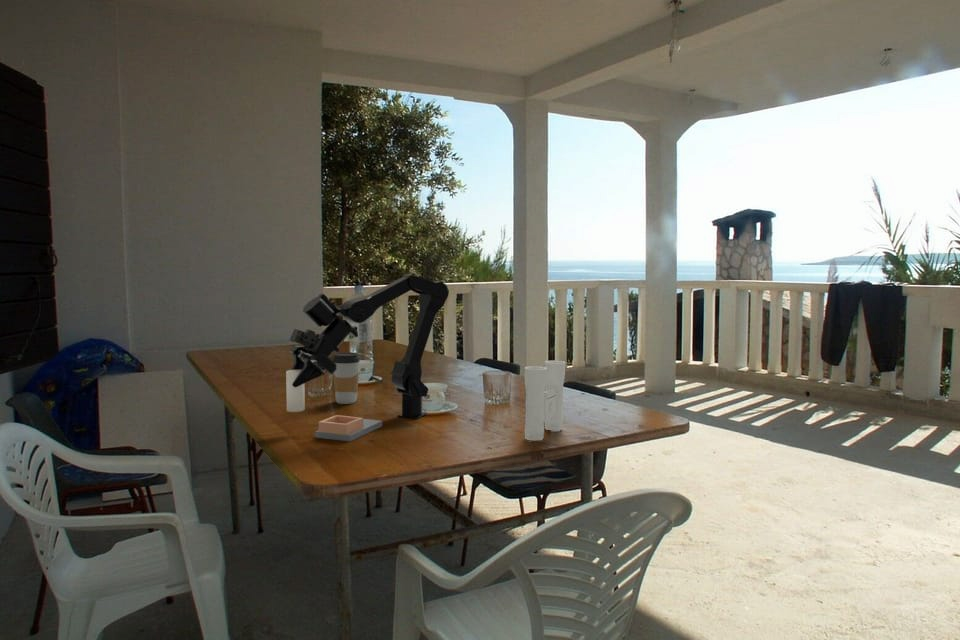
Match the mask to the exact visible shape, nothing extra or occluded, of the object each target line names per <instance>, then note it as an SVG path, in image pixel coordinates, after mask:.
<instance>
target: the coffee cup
mask: <svg viewBox="0 0 960 640" xmlns="http://www.w3.org/2000/svg"><path fill="white" fill-rule="evenodd" d="M332 361H333V362H334V363H335V364H336V368H337V370H336V371H335V372H334V373H333V383H334V384H333V385H334V393H335V395H334V396H335V401H336V403H337V404H340V405H348V404H351V405H352V404H355V403H356V401H357V399H358V390H359V389H358V387H359V373H360V372H359V369H360V368H359V367H360V357H359V354H358V352H357V353H356V352H335V353H334V354H333V356H332Z"/></svg>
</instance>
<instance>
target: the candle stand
mask: <svg viewBox="0 0 960 640" xmlns="http://www.w3.org/2000/svg"><path fill="white" fill-rule="evenodd" d="M382 427H383V420H378V419H377V420H375V419H367V418H364V417H358V416H350V415H349V416H348V415H340V414H339V415H338V414H336V415H333V416H331V417H328V418H325V419H323V420H320V421H318V429H317V430H315V431H314V435H315V436H314V438H317V439H326V440H335V441H341V442H342V441H343V442H352V441H355V440H357V439H358V438H361V437H363V436H366V435H367V434H369V433H371V432H373V431H376V430H378V429H379V428H382Z"/></svg>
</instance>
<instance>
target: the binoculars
mask: <svg viewBox="0 0 960 640" xmlns="http://www.w3.org/2000/svg"><path fill="white" fill-rule="evenodd" d="M565 377H566V362H565V361H563V360H551V359H550V360H545V361H544V366H539V365H538V366H536V365H533V366H531V365H529V366H525V367H524V388H525V402H524V404H525V412H524V414H525V421H524V422H525V423H524V424H525V425H524V439H527V440H542V439H543V438H544V435H545V429H546V431H547V430H551V431H550V432H561V431H563V425H564V418H563V415H564V414H563V409H564V406H563V403H564V383H565ZM560 430H561V431H560ZM527 440H526V441H527Z"/></svg>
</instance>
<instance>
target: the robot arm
mask: <svg viewBox="0 0 960 640" xmlns="http://www.w3.org/2000/svg"><path fill="white" fill-rule="evenodd" d="M410 291H412V292H413V293H415V294H417V295H418V304H419V305H418V306H419V310H418V314H417V317H416V320H415V324H414V327H413V329H412V333H411V335H410V339H409V342H408V345H407V348H406V351H405V354H404V357H403V358H402V359H401V360H400V361H398V360H395V361H394V364H393V369H392V370H391V373H390V375H391V383H392V385H393V386H394V387H395V388H396V390H397V393H398V394H401V412H400V413H398V414H397V415H396V416H397V417H398V418H406V419H416V420H417V419H420V418H421V417H424V416H426V415H427V413H428V412H425V411H423V397H427V395H428V392H429V388H428V387H427V386H426V384H424V382H422V375H423V371H422V359H423V356H424V353H425V351H426V346H427V344H428V339H429V336H430V333H431V331H432V327H433V325H434V321H435V318H436V316H437V313H439V312H440V310H441V309H442V308H443V306H444V305H445V304H446V301H447V299H448V298H449V295H450V290H449V288H448V285H447V284H446V283H444V282H442V281H433V280H429V279H426V278H424V277H423V278H422V277H420V276H418V275H417V274H408V273H407V274H403V276H402V277H400V278H398V279H396V280H394V281H391V282H390V283H388V284H386V285H385V286H383V287H381V288H379V289H377V290H375V291H373V292H371V293H369V294H367V295H362V296H358V297H353V298H352V299H348V300H346V301H344V302H343V303H342V304H341V305H334V304H333V303H332V302H331V301H330V300H329V298H328V297H327V295H325V294H324V293H319V295H317V296H315V297H314V298H312V299H311V300H310V301H308V302H306V304H305V305H304V306H303V309H302V312H303V313H304V314H305V315H306V316H307V317H308V318H309V319H310V321H312V322H313V323H314V324H315V325H316V326H317V327H318V328H319V327H325V328H324V329H323V330H322V331H321V332H320V333H319V332H317V333H316V332H315V331H313V330H312V329H306V330H305V331H303V330H301V329H296V328H294V329H293V331H292V333H291V335H290V338H289V341H290V342H292V343H297V344H299V345H293V346H292V347H291V348H290V349H289V351H288V352H289V353H290V354H291V355H292V357H293V364H292V367H291V369H290V370H301V372H300V373H299V375H298V376H297V378H296V379H295V381H294V382H293V384H292V385H293V386H294V387H298V386H300V385H302V384H304V385H305V384H306V383H308V382H310V381H312V380H315V379H317V378H319V377H322V376H325V373H326V374H327V375H330V376H332V375H334V372H335V371H336V370H337V368H336V364H335V363H334V362H333V359H331V358H330V357H331V356H332V355H334V354H333V353H339V351H340V348H339V347H340V346H341V344H342V343H343V342H344V341H345V340H346V339H347V338H348V336H350V337H353V338H354V337H355V338H358V337H359V333H358V326H354V325H351V324H350V322H352V323H357V324H361V323H364V322H366V321H367V320H368V319H369V318H371V317H372V316H373V315H374V314H375V313H376V312H377V310H378V309H379V308H381V307H383V306H384V305H386V304H388V303H390V302H391V301H393V300H395V299H397V298H399V297H401V296H403V295H404V294H407V293H408V292H410ZM339 316H340V317H342V318H343V319H341V318H340V317H339ZM324 372H325V373H324ZM284 382H285V383H286V380H285V381H284Z"/></svg>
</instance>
